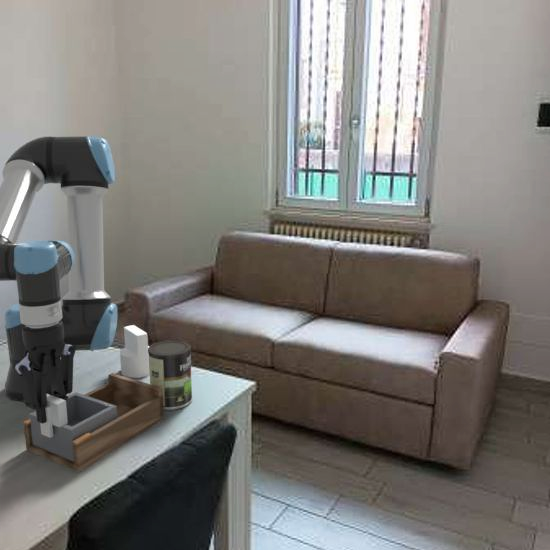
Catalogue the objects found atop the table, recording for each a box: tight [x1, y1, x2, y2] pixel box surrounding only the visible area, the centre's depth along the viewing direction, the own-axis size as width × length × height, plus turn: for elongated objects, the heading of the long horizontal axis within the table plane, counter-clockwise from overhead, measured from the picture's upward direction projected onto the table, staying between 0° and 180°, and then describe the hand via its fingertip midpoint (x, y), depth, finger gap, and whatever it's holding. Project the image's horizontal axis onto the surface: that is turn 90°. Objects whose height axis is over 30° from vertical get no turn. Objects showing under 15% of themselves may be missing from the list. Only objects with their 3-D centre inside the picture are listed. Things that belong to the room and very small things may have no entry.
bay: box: [23, 372, 165, 473], centre depth 129 cm, size 16×25×8 cm, turn 149°
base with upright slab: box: [119, 324, 151, 379], centre depth 162 cm, size 9×9×12 cm
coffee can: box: [148, 340, 193, 411], centre depth 145 cm, size 10×10×14 cm
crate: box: [29, 391, 117, 462], centre depth 123 cm, size 13×12×12 cm
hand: (53, 432), depth 119 cm, fingers closed on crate, 2 cm apart
